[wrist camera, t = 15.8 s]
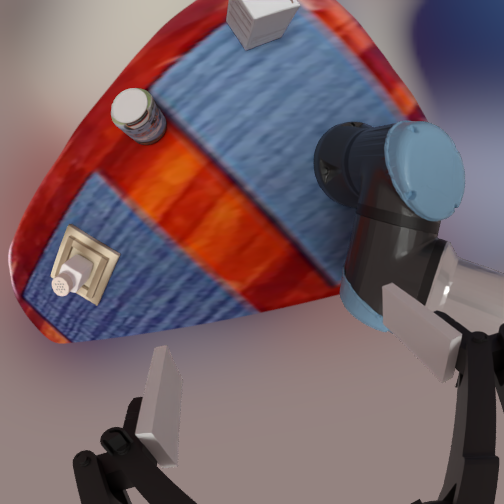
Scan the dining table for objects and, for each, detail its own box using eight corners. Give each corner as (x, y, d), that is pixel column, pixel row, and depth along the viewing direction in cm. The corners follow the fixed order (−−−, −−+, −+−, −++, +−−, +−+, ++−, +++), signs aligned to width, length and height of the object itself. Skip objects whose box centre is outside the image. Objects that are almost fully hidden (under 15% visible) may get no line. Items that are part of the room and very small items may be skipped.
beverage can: (140, 152, 44) (119, 147, 33) (123, 114, 42) (98, 100, 31) (174, 134, 44) (163, 123, 33) (157, 96, 42) (141, 76, 31)
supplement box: (262, 8, 39) (276, -29, 27) (282, 38, 41) (302, 5, 29) (224, 21, 39) (229, -17, 27) (244, 52, 42) (255, 19, 30)
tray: (120, 254, 48) (116, 258, 46) (99, 302, 50) (95, 308, 48) (71, 223, 45) (65, 226, 43) (53, 273, 47) (47, 278, 45)
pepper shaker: (70, 270, 47) (47, 291, 37) (77, 251, 46) (52, 269, 37) (88, 281, 48) (67, 303, 38) (95, 262, 47) (73, 282, 38)
